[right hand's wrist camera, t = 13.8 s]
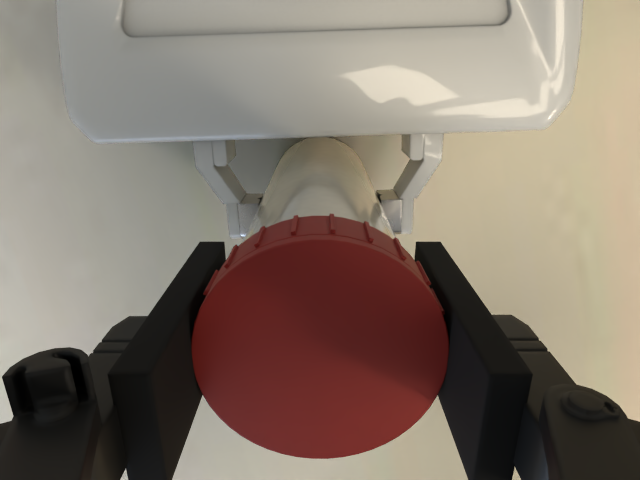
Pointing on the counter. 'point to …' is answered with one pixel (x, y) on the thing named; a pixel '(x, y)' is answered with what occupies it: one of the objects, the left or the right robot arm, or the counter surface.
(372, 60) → the left robot arm
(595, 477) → the right robot arm
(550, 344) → the counter surface
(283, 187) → the jar
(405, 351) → the lid
